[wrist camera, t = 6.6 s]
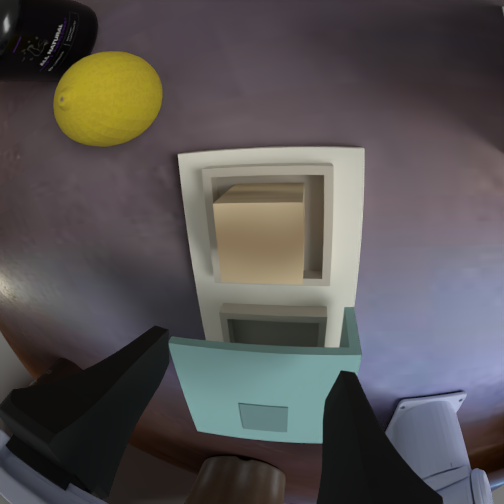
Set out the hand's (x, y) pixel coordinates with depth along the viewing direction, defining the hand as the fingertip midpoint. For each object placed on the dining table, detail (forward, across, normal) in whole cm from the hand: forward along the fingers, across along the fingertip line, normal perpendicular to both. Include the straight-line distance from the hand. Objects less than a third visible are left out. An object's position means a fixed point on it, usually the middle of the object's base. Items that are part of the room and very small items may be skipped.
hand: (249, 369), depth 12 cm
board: (+10, 0, +2) cm, 10 cm away
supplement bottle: (+10, +19, -15) cm, 26 cm away
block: (+9, +1, -4) cm, 9 cm away
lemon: (+10, +10, -10) cm, 17 cm away
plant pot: (+10, -2, +34) cm, 36 cm away
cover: (+7, -1, +6) cm, 10 cm away
